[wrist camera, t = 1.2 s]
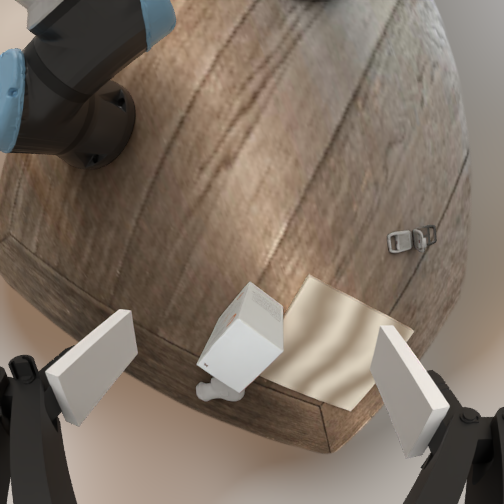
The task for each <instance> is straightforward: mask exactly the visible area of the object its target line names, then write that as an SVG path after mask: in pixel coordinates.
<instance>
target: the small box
mask: <svg viewBox="0 0 504 504" xmlns="http://www.w3.org/2000/svg"><path fill="white" fill-rule="evenodd" d="M283 348H284V346H283V306H282V305H281V304H279V303H278V302H277V301H275V300H274V299H273V298H271V297H270V296H269V295H267V294H266V293H265V292H263V291H262V290H261V289H259V288H258V287H257V286H256V285H254V284H253V283H252V282H249V283H248V284H247V285H246V286H245V287H244V288H243V290H242V291H241V292H240V293H239V294H238V296H237V297H236V298H235V299H234V300H233V302H232V303H231V304H230V305H229V307H228V308H227V309H226V310H225V311H224V313H223V314H222V315H221V316H220V318H219V319H218V321H217V324H216V326H215V328H214V330H213V332H212V334H211V336H210V338H209V340H208V342H207V344H206V346H205V348H204V350H203V352H202V354H201V356H200V358H199V360H198V362H197V365H198V366H199V367H201V368H202V369H204V370H205V371H206V372H208V373H209V374H211V375H212V376H214V377H215V378H217V379H218V380H220V381H221V382H223V383H224V384H226V385H227V386H229V387H231V388H232V389H234V390H235V391H237V392H239V393H241V392H242V391H243V390H244V389H245V388H246V387H247V386H248V385H250V384H251V383H252V382H253V381H254V380H255V379H256V378H257V377H258V376H259V375H260V374H261V373H262V372H263V371H264V370H266V369H267V368H268V367H269V366H270V365H271V364H272V363H273V362H274V361H275V360H276V359H277V358H278V357H279V356H280V355H281V354H282V353H283V352H284V350H283Z"/></svg>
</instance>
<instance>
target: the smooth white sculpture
mask: <svg viewBox="0 0 504 504" xmlns="http://www.w3.org/2000/svg"><path fill="white" fill-rule="evenodd" d="M196 392H197V396H198V398H199V399H201V400H204V401H209V400H211V399H214V398H222V399H225V400H228V401H238V400H240V399H241V398H242V397H243V396H244V393H245V389H244V390H243V391H242V392H241V393H239V392H237V391H235V390H234V389H232V388H231V387H229V386H227V385H226V384H224V383H223V382H221V381H220V380H218V379H217V378H215V377H213V378H211V383H207V384H205V383H203V382H200V383H199V384H198V385H197V386H196Z"/></svg>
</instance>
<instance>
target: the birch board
mask: <svg viewBox="0 0 504 504" xmlns="http://www.w3.org/2000/svg"><path fill="white" fill-rule="evenodd" d="M385 325H393V326H394V327H395V328H396V330H397V331H398V332H399V334H400V335H401V336H402V338H403V339H404V341H405V342H407V341H408V339H409V338H410V337H411V335H412V334H413V332H414V331H413V330H412V329H411V328H410V327H408V326H406V325H404V324H402V323H400V322H398V321H397V320H395V319H393V318H391V317H389V316H387V315H385V314H383V313H382V312H380V311H378V310H376V309H374V308H372V307H370V306H368V305H366V304H365V303H363V302H361V301H359V300H357V299H355V298H353V297H351V296H349V295H348V294H346V293H344V292H342V291H340V290H338V289H336V288H334V287H332V286H330V285H329V284H327V283H325V282H323V281H321V280H319V279H317V278H315V277H313V276H311V275H310V274H308V276H307V277H306V279H305V281H304V283H303V284H302V286H301V288H300V289H299V291H298V293H297V295H296V296H295V298H294V300H293V301H292V303H291V305H290V306H289V308H288V310H287V311H286V313H285V314H284V316H283V346H284V348H283V350H284V352H283V353H282V354H281V355H280V356H279V357H278V358H277V359H276V360H275V361H274V362H273V363H272V364H271V365H270V366H269V367H268V368H267V369H266V370H264V371H263V372H262V373H261V374H260V375H259V376H261V377H263V378H265V379H268V380H270V381H272V382H275V383H277V384H279V385H282V386H284V387H287V388H289V389H292V390H294V391H297V392H299V393H302V394H304V395H307V396H309V397H312V398H315V399H317V400H320V401H323V402H326V403H328V404H331V405H334V406H337V407H340V408H343V409H346V410H349V411H351V410H352V409H353V408H354V407H355V406H356V405H357V404H358V403H359V402H360V400H361V399H362V398H363V397H364V396H365V395H366V394H367V392H368V391H369V390H370V389H371V388H372V387H373V385H374V384H375V380H374V378H373V376H372V374H371V371H370V366H371V362H372V358H373V354H374V350H375V346H376V342H377V337H378V333H379V328H380V326H385Z"/></svg>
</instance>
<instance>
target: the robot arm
mask: <svg viewBox="0 0 504 504" xmlns="http://www.w3.org/2000/svg"><path fill="white" fill-rule="evenodd" d="M15 1H17V2H18V3H20V4H21V5H22V6H24V7H25V8H26V9H27V12H28V17H27V29H28V30H29V31H30V32H32V33H33V34H34V35H36V36H35V37H34V38H33V40H32V41H31V42H30V43H29V44H28V45H27V46H26V47H25V48H24V50H22V51H21V50H20V49H18V48H15V49H9V50H7V51H6V52H4V53H2V54H1V55H0V151H2V152H4V153H31V154H49V155H56V156H58V157H59V158H61V159H62V160H64V161H65V162H67V163H68V164H70V165H71V166H73V167H76V168H80V169H97V168H101V167H103V166H105V165H107V164H109V163H110V162H111V161H113V160H114V159H115V158H116V157H117V156H118V155H119V154H120V153H121V151H122V150H123V149H124V147H125V145H126V144H127V142H128V140H129V138H130V136H131V133H132V130H133V126H134V121H135V106H134V102H133V99H132V97H131V95H130V93H129V92H128V91H127V90H126V89H125V88H124V87H123V86H121V85H119V84H118V83H116V82H114V81H111V80H110V79H111V78H113V77H114V76H115V75H116V74H117V73H119V72H120V71H121V70H122V69H123V68H125V67H126V66H127V65H129V64H130V63H131V62H132V61H134V60H135V59H136V58H138V57H139V56H140V55H142V54H143V53H144V52H148V51H149V50H150V49H151V47H152V46H153V45H155V44H156V43H157V42H159V41H160V40H161V39H163V38H164V37H165V36H167V35H168V34H169V33H171V32H172V30H173V29H174V27H175V24H176V16H175V12H174V9H173V6H172V4H171V2H170V0H15ZM137 354H138V351H137V345H136V339H135V333H134V326H133V320H132V312H131V311H130V310H123V309H119V310H118V311H116V312H115V313H114V314H113V315H112V316H110V317H109V318H108V319H107V320H105V321H104V322H103V323H102V324H101V325H99V326H98V327H97V328H96V329H94V330H93V331H92V332H91V333H90V334H88V335H87V336H86V337H85V338H84V339H82V340H81V341H80V342H79V343H78V344H77V345H73V346H71V347H69V348H67V349H65V350H64V351H62V352H61V353H60V354H59V356H56V357H55V358H54V360H52V361H51V362H49V363H48V364H47V365H46V366H45V367H43V368H42V369H41V370H40V371H39V372H38V369H37V367H36V364H35V361H34V358H33V357H31V356H29V355H20V356H17V357H15V358H13V359H12V360H11V361H10V362H9V364H8V365H9V368H10V370H11V373H12V375H13V377H14V378H12V377H7V374H6V372H5V370H4V368H2V367H0V504H7V496H8V490H9V484H10V478H11V486H12V495H13V503H14V504H77V502H76V498H75V495H74V491H73V487H72V483H71V479H70V475H69V471H68V466H67V461H66V456H65V451H64V445H63V439H62V433H61V426H60V421H59V418H58V415H59V414H60V413H61V412H62V414H63V416H64V418H65V420H66V421H67V422H69V423H71V424H74V425H76V426H80V425H81V424H82V422H83V421H84V420H85V418H86V417H87V416H88V415H89V413H90V412H91V411H92V410H93V408H94V407H95V406H96V405H97V403H98V402H99V401H100V400H101V398H102V397H103V396H104V395H105V393H106V392H107V390H109V388H110V387H111V386H112V385H113V383H114V382H115V381H116V380H117V378H118V377H119V376H120V374H121V373H122V372H123V371H124V370H125V369H126V367H127V366H128V365H129V364H130V362H131V361H132V360H133V359H134V357H135V356H136V355H137ZM370 371H371V374H372V376H373V378H374V380H375V383H376V385H377V387H378V390H379V392H380V395H381V397H382V399H383V402H384V404H385V406H386V409H387V411H388V414H389V416H390V419H391V421H392V424H393V426H394V429H395V431H396V434H397V436H398V439H399V442H400V444H401V447H402V450H403V452H404V455H405V458H406V459H407V458H411V457H416V456H420V455H423V453H424V451H425V450H426V448H427V447H428V446H429V448H430V451H431V453H430V455H429V456H428V458H427V459H426V461H425V462H424V464H423V465H422V466H421V468H422V470H421V472H420V474H419V476H418V478H417V480H416V482H415V484H414V485H413V487H412V489H411V491H410V492H409V494H408V496H407V498H406V499H405V501H404V503H403V504H458V501H459V499H460V496H461V494H462V491H463V488H464V485H465V483H466V480H467V484H466V495H465V504H504V407H502V408H500V409H499V410H498V411H497V413H496V415H495V416H494V417H481V416H480V414H479V413H478V412H477V411H475V410H474V409H471V408H467V407H462V406H461V404H460V403H459V401H458V400H457V398H456V397H455V395H454V394H453V393H452V391H451V390H449V387H448V386H447V384H445V381H444V380H443V379H442V377H441V376H440V375H439V374H437V373H436V372H434V371H433V370H429V371H426V370H425V368H424V367H423V366H422V364H421V363H420V361H419V360H418V359H417V357H416V356H415V354H414V353H413V352H412V350H411V349H410V347H409V346H408V345H407V343H406V342H405V341H404V339H403V338H402V336H401V335H400V334H399V332H398V331H397V330H396V328H395V327H394V326H393V325H385V326H380V328H379V333H378V337H377V342H376V346H375V350H374V354H373V358H372V362H371V366H370Z"/></svg>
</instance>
